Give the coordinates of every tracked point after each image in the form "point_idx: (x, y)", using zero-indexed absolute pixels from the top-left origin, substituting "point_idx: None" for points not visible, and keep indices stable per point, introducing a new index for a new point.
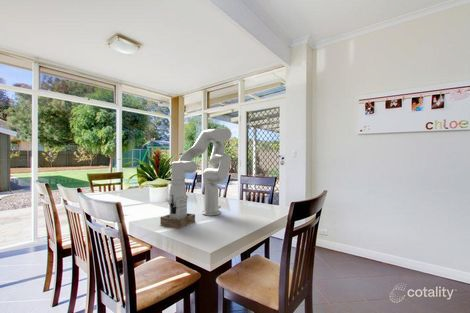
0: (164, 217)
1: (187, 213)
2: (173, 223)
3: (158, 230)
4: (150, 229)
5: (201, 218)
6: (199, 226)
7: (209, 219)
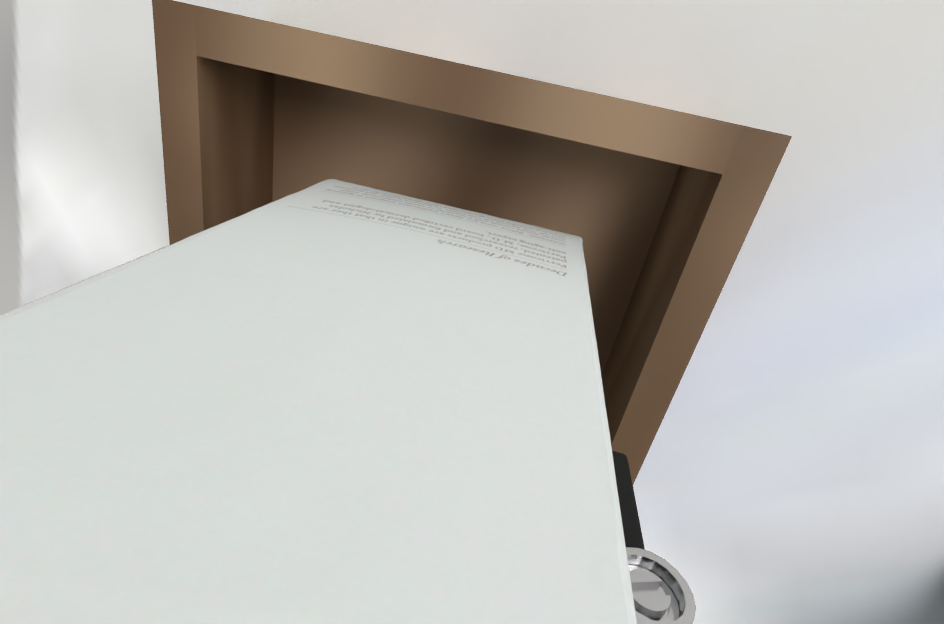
0: (180, 125)
1: (632, 450)
2: None
3: (68, 173)
4: (20, 9)
5: (784, 516)
6: None
7: (733, 612)
